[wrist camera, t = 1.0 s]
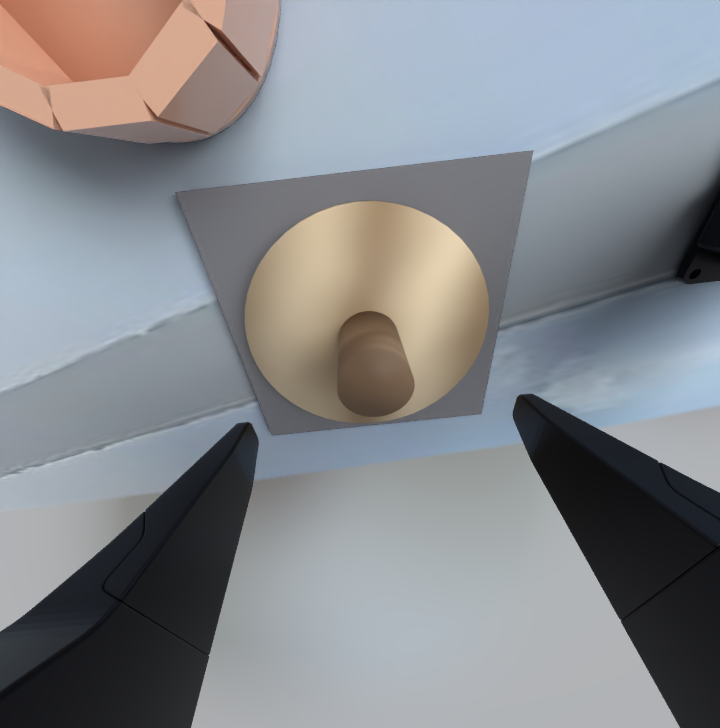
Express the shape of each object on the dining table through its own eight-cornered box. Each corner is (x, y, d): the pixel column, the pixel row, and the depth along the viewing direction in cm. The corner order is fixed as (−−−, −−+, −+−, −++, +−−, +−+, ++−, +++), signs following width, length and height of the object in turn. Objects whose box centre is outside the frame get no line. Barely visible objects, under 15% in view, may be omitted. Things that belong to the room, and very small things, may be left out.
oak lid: (501, 183, 11) (586, 189, 8) (467, 403, 18) (502, 468, 14) (209, 218, 12) (141, 242, 8) (283, 423, 18) (266, 492, 14)
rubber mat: (526, 151, 11) (533, 150, 11) (478, 408, 19) (481, 413, 19) (181, 191, 12) (175, 192, 11) (273, 429, 19) (271, 435, 19)
